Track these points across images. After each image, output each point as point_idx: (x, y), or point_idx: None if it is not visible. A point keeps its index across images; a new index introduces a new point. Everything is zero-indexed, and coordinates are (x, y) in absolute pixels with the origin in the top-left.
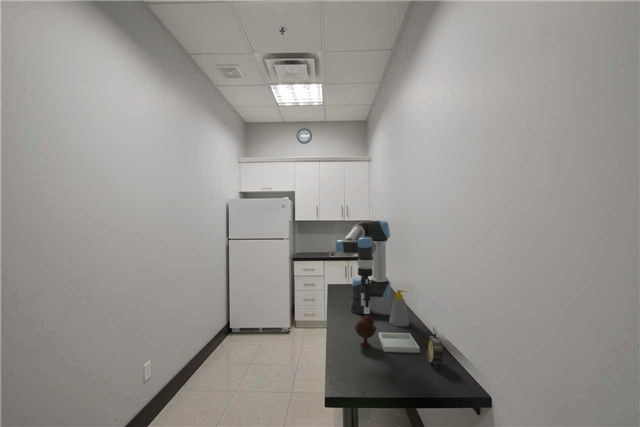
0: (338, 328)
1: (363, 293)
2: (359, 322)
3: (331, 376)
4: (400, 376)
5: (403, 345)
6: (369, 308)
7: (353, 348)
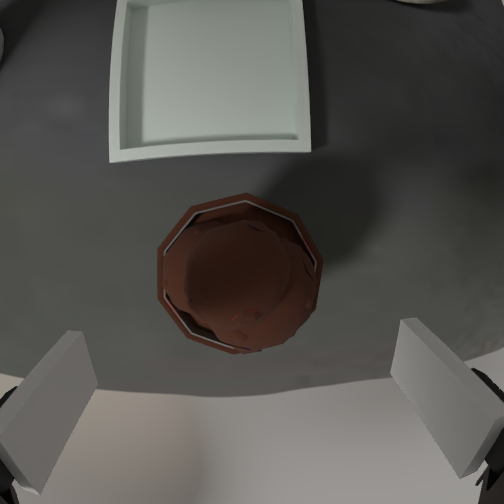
0: None
1: (24, 472)
2: (273, 345)
3: None
4: (476, 143)
5: (230, 41)
6: (448, 349)
7: None
